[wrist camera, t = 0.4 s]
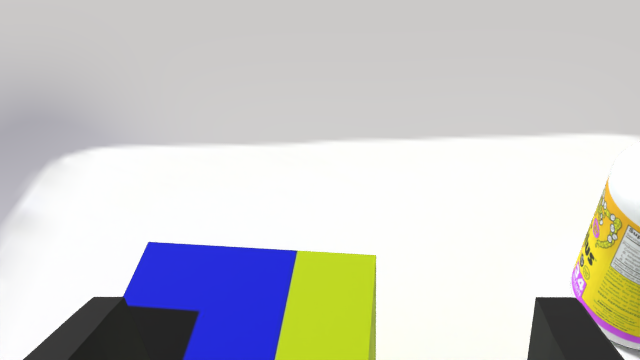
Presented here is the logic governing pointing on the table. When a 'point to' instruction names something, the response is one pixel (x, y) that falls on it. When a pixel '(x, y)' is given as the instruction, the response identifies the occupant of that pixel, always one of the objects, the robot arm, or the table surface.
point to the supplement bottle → (614, 255)
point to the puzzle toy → (253, 303)
